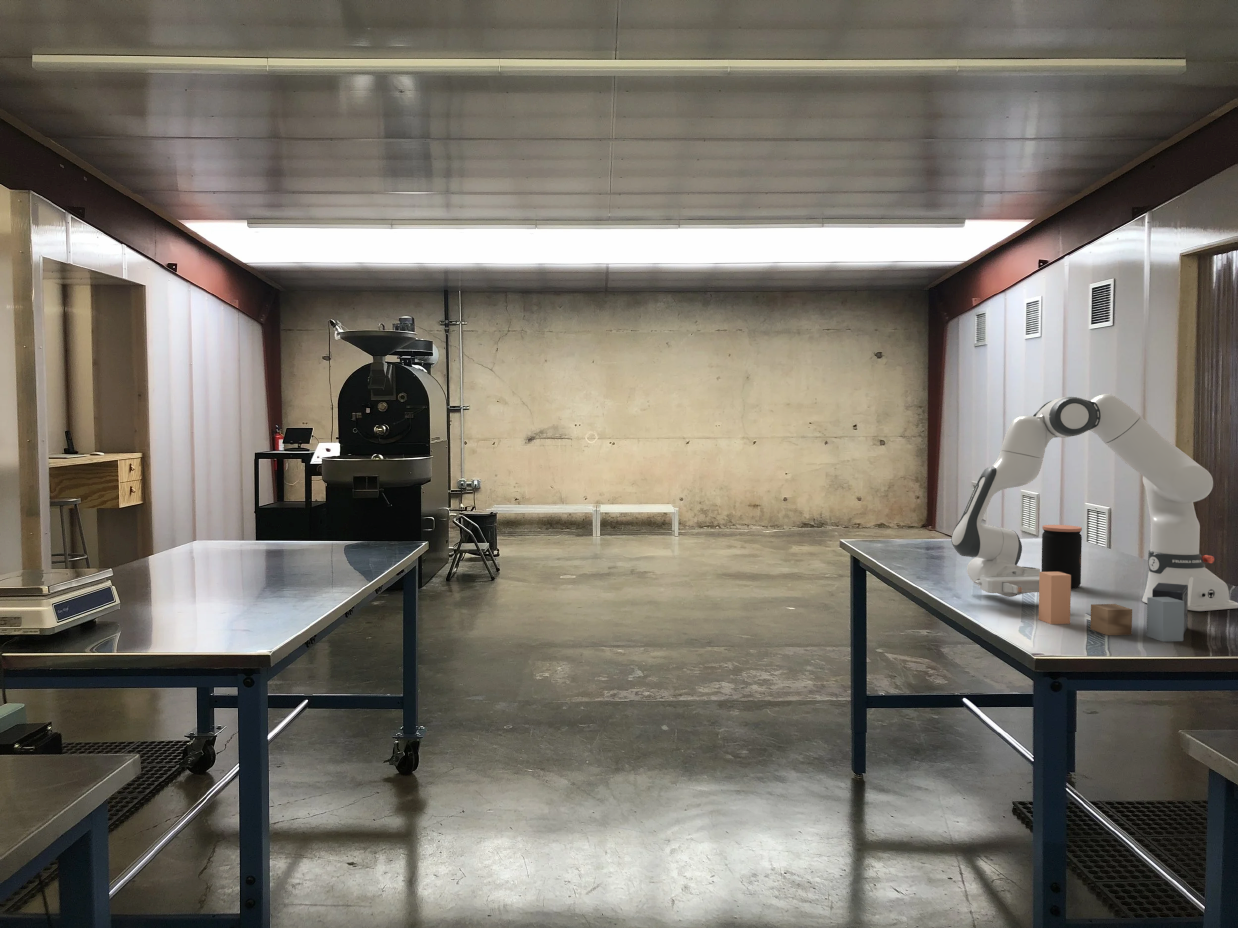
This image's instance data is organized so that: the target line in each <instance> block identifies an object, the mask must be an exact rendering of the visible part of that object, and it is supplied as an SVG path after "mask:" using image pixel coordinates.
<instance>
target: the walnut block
mask: <svg viewBox="0 0 1238 928" xmlns="http://www.w3.org/2000/svg"><path fill="white" fill-rule="evenodd" d="M1090 630H1091V631H1092V630H1093V631H1094V632H1097V633H1100V634H1103V635H1105V636H1129V635H1133V609H1132V608H1129V607H1126V606H1123V605H1119V604H1116V603H1102V604H1101V603H1100V604H1099V603H1098V604H1097V603H1096V604H1095V603H1094V604H1090Z"/></svg>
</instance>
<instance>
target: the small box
mask: <svg viewBox="0 0 1238 928" xmlns="http://www.w3.org/2000/svg"><path fill="white" fill-rule="evenodd" d="M1152 597H1170V598H1174V599H1177V600H1181V601H1184V634H1183V636H1184V635H1185V633H1186V631H1187V629H1188V628H1189V626H1188V625H1189V624H1188V621H1189V620H1188V618H1189V617H1188V615H1189V614H1188V611H1189V610H1188V607H1187V606H1188V585H1183V584H1170V583H1158V584H1157V585H1156V586H1155V587H1154V588H1153V590H1152Z"/></svg>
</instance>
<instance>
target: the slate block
mask: <svg viewBox="0 0 1238 928" xmlns="http://www.w3.org/2000/svg"><path fill="white" fill-rule="evenodd" d="M1146 605H1147V606H1146V637H1148V638H1151V639H1154V640H1158V641H1159V642H1163V643H1164V642H1165V643H1166V642H1184V635H1185V633H1184V601H1181V600H1177V599H1174V598H1170V597H1147V603H1146ZM1183 634H1184V635H1183Z"/></svg>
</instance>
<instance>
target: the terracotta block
mask: <svg viewBox="0 0 1238 928" xmlns="http://www.w3.org/2000/svg"><path fill="white" fill-rule="evenodd" d="M1071 593H1072V589H1071V575H1069V574H1065V573H1062V572H1039V592H1038V620H1039V621H1042V622H1044V623H1047V624H1050V625H1061V624H1062V625H1065V624H1066V625H1068V624H1069V625H1070V624H1071V600H1072V599H1071Z"/></svg>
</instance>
